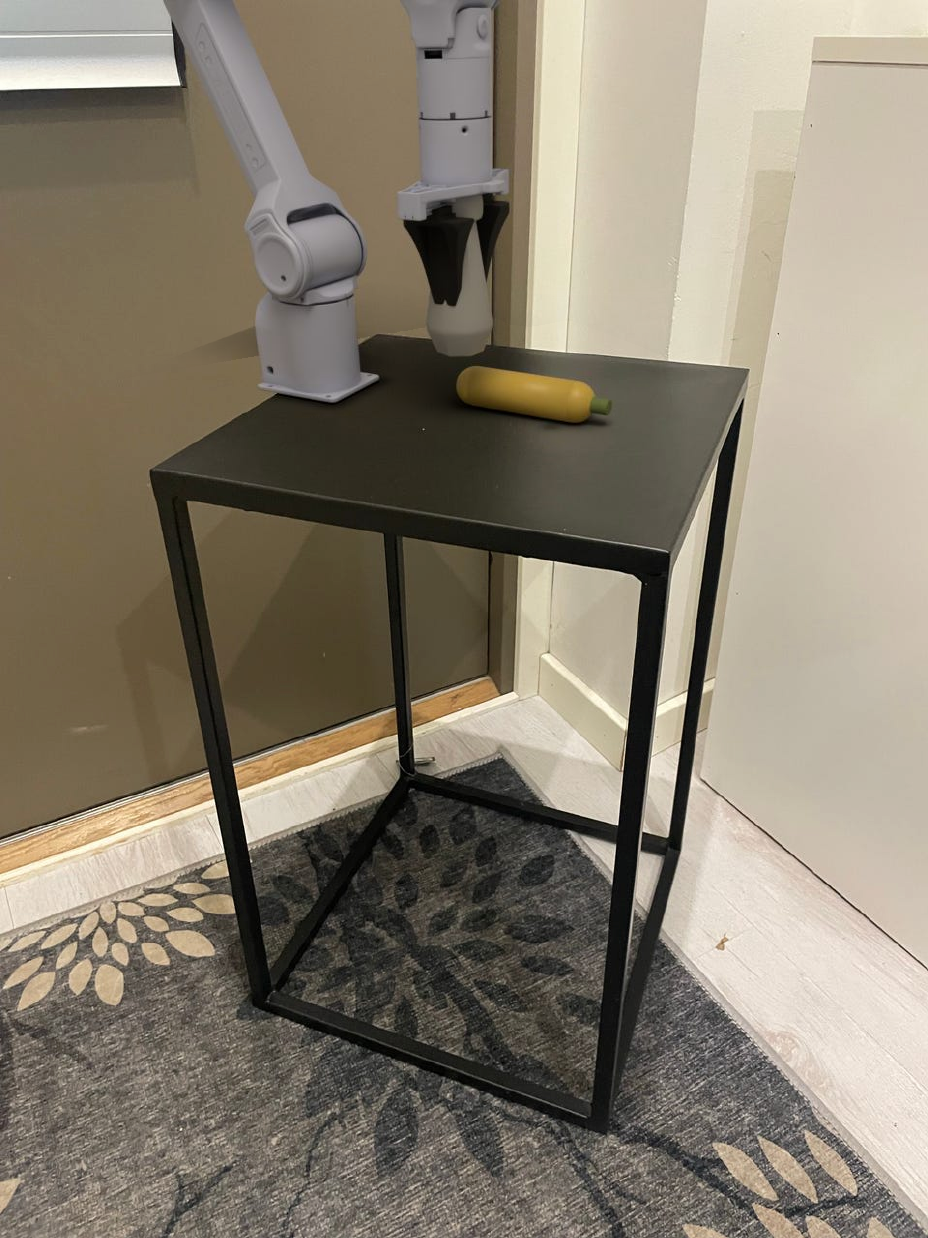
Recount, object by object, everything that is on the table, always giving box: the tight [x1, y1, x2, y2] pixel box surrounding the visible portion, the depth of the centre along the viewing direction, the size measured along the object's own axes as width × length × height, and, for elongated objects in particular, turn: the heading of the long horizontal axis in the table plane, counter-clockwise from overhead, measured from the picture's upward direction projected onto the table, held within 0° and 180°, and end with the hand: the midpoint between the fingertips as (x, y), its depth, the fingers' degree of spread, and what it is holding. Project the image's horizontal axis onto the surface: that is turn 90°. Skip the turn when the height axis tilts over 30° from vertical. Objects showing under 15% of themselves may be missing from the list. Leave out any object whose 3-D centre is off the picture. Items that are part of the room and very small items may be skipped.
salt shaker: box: [425, 194, 494, 357], centre depth 77 cm, size 6×6×13 cm
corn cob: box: [455, 365, 613, 424], centre depth 83 cm, size 15×4×4 cm, turn 61°
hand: (459, 298), depth 79 cm, fingers closed on salt shaker, 4 cm apart
